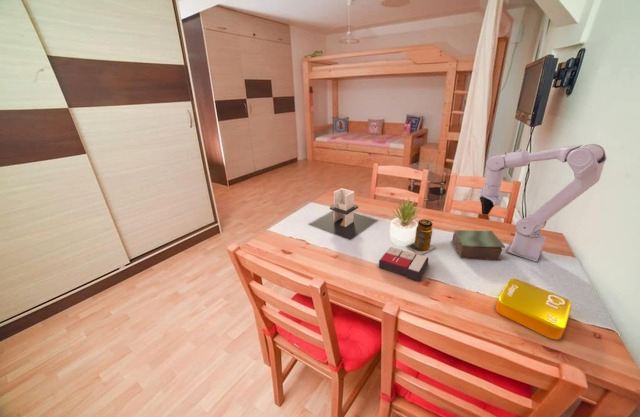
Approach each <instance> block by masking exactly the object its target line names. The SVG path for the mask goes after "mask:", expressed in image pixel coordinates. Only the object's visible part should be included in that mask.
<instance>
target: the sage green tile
mask: <svg viewBox="0 0 640 417" xmlns="http://www.w3.org/2000/svg"><path fill="white" fill-rule="evenodd" d="M454 232H455V234H456V236H457V237H458V239H459V241H460V242H461V244H462V246H468V247H499V248H502V249H503V248H504V249H505V248H506V246H505V244H504V243H503V242H502V241H501V239H499V238H498V236H497V235H496V234H495V233H494V231H493V230H463V229H461V230H460V229H459V230H458V229H454V230H453V233H454Z"/></svg>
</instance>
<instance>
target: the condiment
mask: <svg viewBox="0 0 640 417" xmlns="http://www.w3.org/2000/svg"><path fill="white" fill-rule="evenodd" d="M432 235H433V222H432V220H429V219H425V218H422V219H419V220H418V223H417V226H416V230H415V236H414V242H413V243H411V244H409V245H406V247H407V248H408V249H409V250H411V251H412V252H413V253H416V254H418V255H422V256H423V255H424V254H426V253H427V252H430V251H432V250H433V249H434V247H433V246H431V243H432V242H431V241H432Z"/></svg>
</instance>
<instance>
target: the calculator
mask: <svg viewBox="0 0 640 417" xmlns="http://www.w3.org/2000/svg"><path fill="white" fill-rule="evenodd" d="M428 266H429V257H428V256H426V255H423V254H422V255H420V254H418V253H416V252H413V251H408V250H403V249H400V248H397V247H392V246H390V247H389V248H388V249H387V250H386V252H385V253H384V254H383V255H382V256H381V258H380V259H379V260H378V267H379V268H380V269H383V270H386V271H390V272H392V273H395V274H396V273H397V274H398V275H402V276H405V277H407V279H410V280H413V281H416V282H420V281H421V279H422V277H424V276H423V275H424V274H425V272H426V270H427V268H428Z"/></svg>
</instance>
